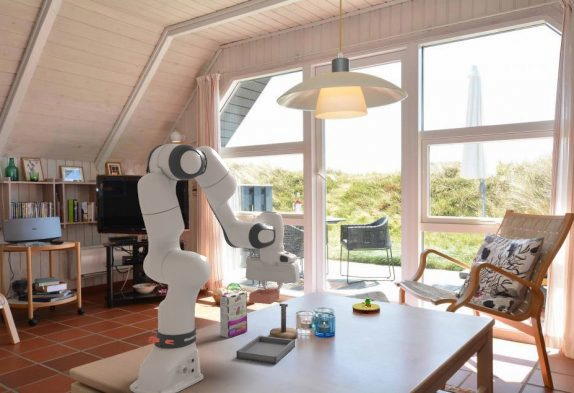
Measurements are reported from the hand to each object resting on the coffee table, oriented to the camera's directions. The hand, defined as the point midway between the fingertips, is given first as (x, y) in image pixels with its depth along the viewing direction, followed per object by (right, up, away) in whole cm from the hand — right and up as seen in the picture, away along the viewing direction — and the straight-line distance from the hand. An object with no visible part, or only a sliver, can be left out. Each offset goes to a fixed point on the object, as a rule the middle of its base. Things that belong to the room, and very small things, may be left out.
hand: (272, 293), depth 167 cm
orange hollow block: (-2, -1, -4) cm, 5 cm away
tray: (-2, -20, -4) cm, 21 cm away
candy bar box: (-16, -20, +17) cm, 31 cm away
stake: (+4, -20, +14) cm, 25 cm away
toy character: (+44, -20, +54) cm, 72 cm away
